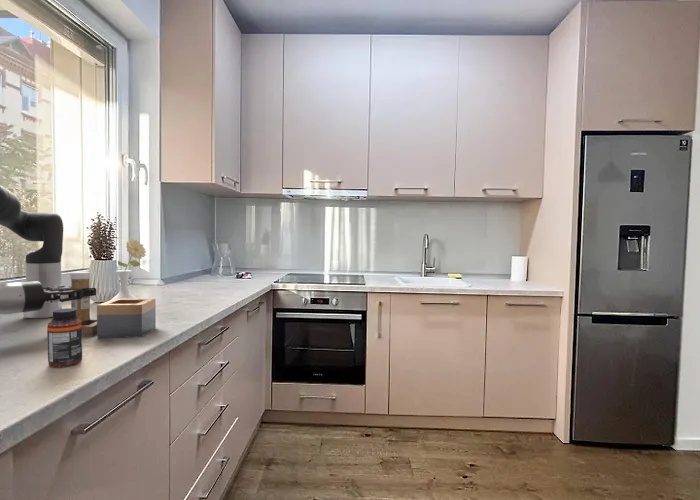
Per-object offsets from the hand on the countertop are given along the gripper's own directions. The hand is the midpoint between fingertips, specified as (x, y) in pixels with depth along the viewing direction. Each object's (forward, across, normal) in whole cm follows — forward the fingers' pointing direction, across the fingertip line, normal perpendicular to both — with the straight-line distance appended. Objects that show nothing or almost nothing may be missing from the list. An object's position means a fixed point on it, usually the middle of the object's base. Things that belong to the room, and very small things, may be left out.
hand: (91, 290), depth 119 cm
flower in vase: (+22, +24, +12) cm, 35 cm away
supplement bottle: (-18, -28, +11) cm, 35 cm away
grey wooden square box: (+4, -11, +11) cm, 16 cm away
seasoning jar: (-3, 0, +8) cm, 9 cm away
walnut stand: (-3, 0, +11) cm, 11 cm away
